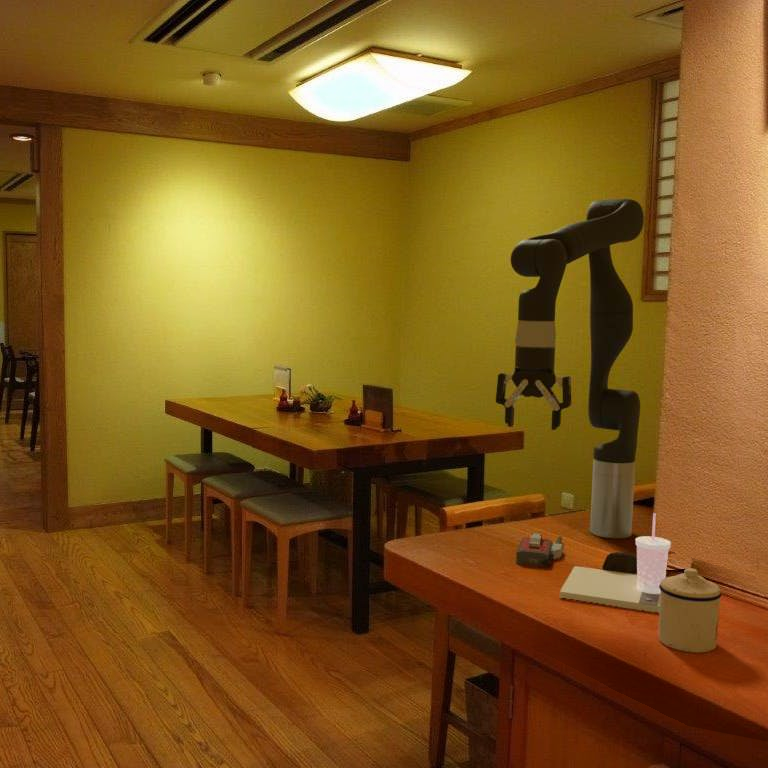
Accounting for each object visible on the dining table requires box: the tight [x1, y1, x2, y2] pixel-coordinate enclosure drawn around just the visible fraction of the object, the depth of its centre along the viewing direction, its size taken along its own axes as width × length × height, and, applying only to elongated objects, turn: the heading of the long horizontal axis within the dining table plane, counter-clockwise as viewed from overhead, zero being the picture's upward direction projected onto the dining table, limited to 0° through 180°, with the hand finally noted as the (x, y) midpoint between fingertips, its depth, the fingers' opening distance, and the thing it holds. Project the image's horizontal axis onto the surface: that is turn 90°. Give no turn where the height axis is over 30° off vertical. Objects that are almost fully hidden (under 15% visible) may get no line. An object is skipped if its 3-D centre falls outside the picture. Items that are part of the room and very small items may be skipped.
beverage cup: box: [635, 512, 672, 594], centre depth 150 cm, size 6×6×14 cm
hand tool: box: [601, 551, 637, 574], centre depth 165 cm, size 19×4×5 cm, turn 103°
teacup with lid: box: [657, 567, 722, 654], centre depth 131 cm, size 12×9×12 cm
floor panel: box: [559, 565, 660, 614], centre depth 152 cm, size 16×24×2 cm, turn 68°
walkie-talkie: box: [515, 532, 564, 567], centre depth 176 cm, size 9×4×20 cm
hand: (532, 427), depth 163 cm, fingers open, 8 cm apart
